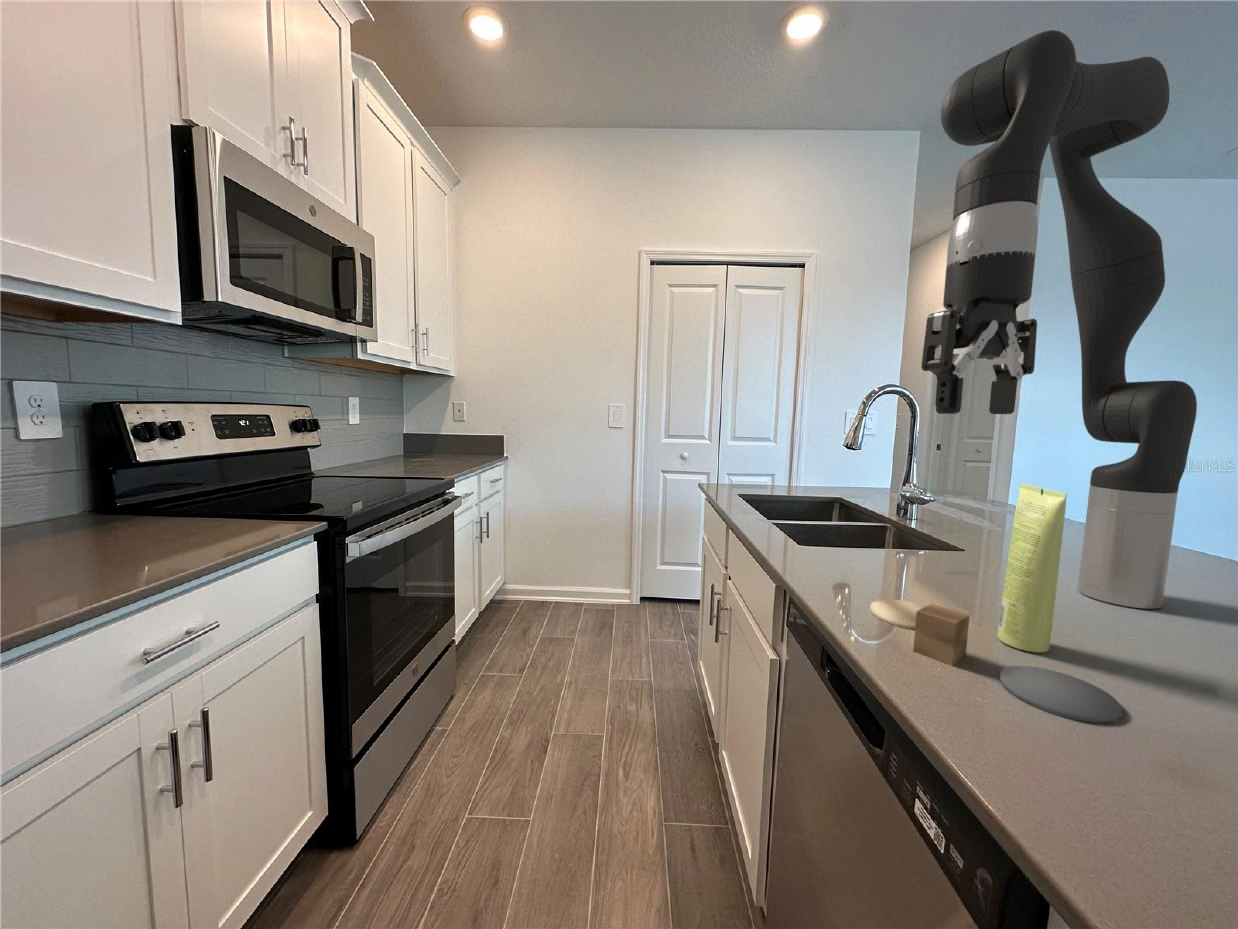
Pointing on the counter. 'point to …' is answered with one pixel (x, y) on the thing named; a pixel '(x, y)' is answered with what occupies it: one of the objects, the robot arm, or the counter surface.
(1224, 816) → the counter surface
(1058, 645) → the counter surface
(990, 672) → the counter surface
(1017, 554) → the tube
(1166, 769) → the counter surface
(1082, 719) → the pad
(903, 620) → the pad
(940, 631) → the walnut block
